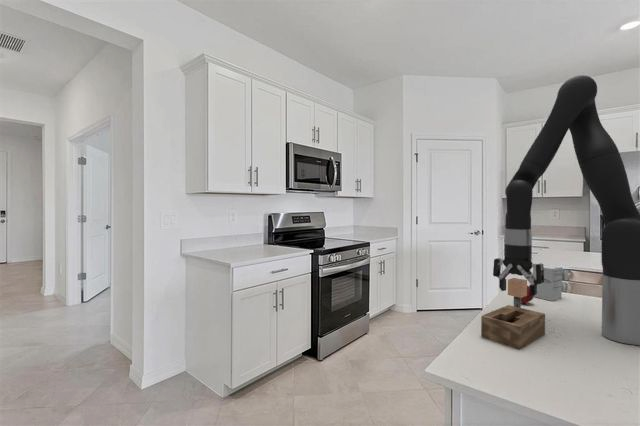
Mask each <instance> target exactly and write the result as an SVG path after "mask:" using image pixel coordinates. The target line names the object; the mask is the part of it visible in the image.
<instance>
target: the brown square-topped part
mask: <svg viewBox="0 0 640 426" xmlns="http://www.w3.org/2000/svg"><path fill="white" fill-rule="evenodd" d="M527 285H528V280H527V279H523V278H518V277H517V278H516V277H512V278H509V279H507V296H511V297H513V306H515V307H519V308H522V302H521V298H522V297H525V296H527Z"/></svg>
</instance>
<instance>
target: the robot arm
mask: <svg viewBox="0 0 640 426" xmlns="http://www.w3.org/2000/svg"><path fill="white" fill-rule="evenodd" d="M597 94H598V85H597V82H596V81H595V79H594V78H592V77H590V76H589V75H584V74H582V75H575V76H573V77H571V78H568V79H567V80H565V82H564V83H563V84H562V85H561V86H560V87H559V89H558V92H557V95H556V99H555V102H554V105H553V106H552V109H551V111H550V114H549V115H548V118H547V119H546V121H545V123H544V125H543V126H542V129H541V130H540V131H539V133H538V135H537V137H536V138H535V139H534V141H533V143H532V145H531V146H530V148H529V149H528V150H527V153H526V154H525V155H524V157H523V159H522V161H521V163H520V165H519V167H518V169H517V170H516V172H515V173H514V175H513V176H512V178H511V180H510V181H509V182H508V183H507V186H506V188H505V191H504V192H505V197H506V213H505V219H504V220H505V221H504V222H505V223H504V224H505V226H504V228H505V229H504V234H503V235H504V236H503V237H504V239H503V241H504V243H503V251H504V252H503V255H504V258H501V257H498V258H494V260H493V268H492V269H493V272H492V275H493V277H496V278H498V280H499V281H498V283H499V285H498V287H499V290H500V291H501V292H505V291H507V279H506V278H507V277H508V276H509V275H517V276H521V277H522V276H523V277H524V278H525V280H527V282H529V285H528V286H529V296H530V297H533V298H535V297H534V296H535V295H536V294H537V284H541V283H544V267H543V264H544V263H533V261H532V256H533V254H532V251H533V249H532V247H533V235H532V215H531V212H532V205H533V197H534V196H533V192H534V191H533V190H534V188H535V186H536V184H537V183H538V181H539V179H540V178H541V177H542V176H543V175H544V173H546V171H547V169H548V168H549V166H550V164H551V163H552V161H553V160H554V158H555V157H556V155H557V153H558V151H559V149H560V147H561V144H562V143H563V141H564V138H565V136H566V134H567V132H568V131H569V132H570V134H571V135H570V136H571V140H572V145H573V149H574V153H575V156H576V160H577V162H578V167H579V169H580V172H581V174H582V177H583V179H584V181H585V183H586V185H587V187H588V188H589V190H590V192H591V194H592V195H593V197H594V198H595V200H596V202H597V204H598V205H599V208H600V212H601V214H602V218H603V222H604V223H603V224H604V226H603V230H602V232H601V266H602V267H601V268H602V284H601V285H602V286H601V287H602V289H601V290H602V294H601V295H602V296H601V300H602V301H601V325H600V326H601V335H602V337H604V338H606V339H608V340H612V341H614V342H617V343H622V344H626V345H627V344H628V345H634V346H640V212H639V210H638V208H637V206H636V203H635V201H634V199H633V196H632V193H631V192H632V191H631V187H630V183H629V179H628V174H627V171H626V167H625V165H624V161H623V158H622V156H621V153H620V151H619V149H618V146H617V145H616V143H615V141H614V140H613V138H612V137H611V135H610V134H609V132H607V130H606V129H605V127H603V124H602V123H601V120H600V118H599V117H600V116H599V113H598V110H597V105H596V97H597ZM502 265H503V266H504V267H505V268H504V269H503V270H502V272H501V268H502V267H501V266H502ZM532 268H534V270H535V271H536V279H535V277H534V275H533V271H531V270H532Z"/></svg>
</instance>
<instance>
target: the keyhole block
mask: <svg viewBox="0 0 640 426" xmlns="http://www.w3.org/2000/svg"><path fill="white" fill-rule="evenodd" d="M480 319H481V320H480V321H481V325H480V328H481V329H480V331H481V332H480V333H481V335H480V336H481V337H480V338H483V339H487V340H490V341H492V342H495V343H498V344H502V345H503V346H508V347H509V348H513V349H516V350H521V349H523V348H525V347H527V346H528V345H530V344H532V343H533V342H535V341H536V340H538V339H540V338H542V337H543V336H545V335H546V313H544V312H538V311H535V310H532V309H527V308H522V307H521V308H519V307H515V306H514V305H511V304H510V305H509V304H508V305H504V306H503V307H500V308H498V309H495V310H492V311H490V312H488V313H485V314H483V315H481V318H480Z"/></svg>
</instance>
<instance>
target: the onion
mask: <svg viewBox="0 0 640 426" xmlns="http://www.w3.org/2000/svg"><path fill="white" fill-rule="evenodd" d="M533 299H534V297H530V296H529V285H528V284H527V296H525V297H522V298H521V304H524V305H525V304H528V303H529V302H531V301H532V300H533Z"/></svg>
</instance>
